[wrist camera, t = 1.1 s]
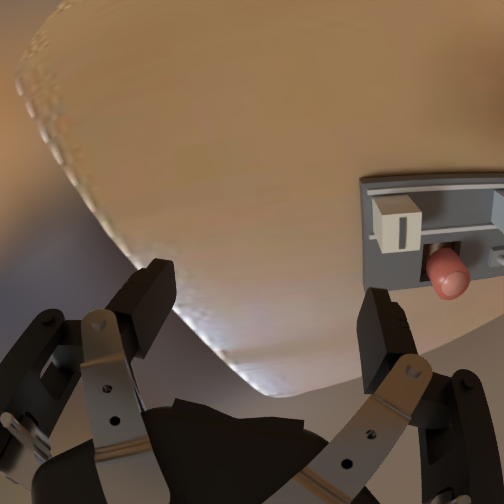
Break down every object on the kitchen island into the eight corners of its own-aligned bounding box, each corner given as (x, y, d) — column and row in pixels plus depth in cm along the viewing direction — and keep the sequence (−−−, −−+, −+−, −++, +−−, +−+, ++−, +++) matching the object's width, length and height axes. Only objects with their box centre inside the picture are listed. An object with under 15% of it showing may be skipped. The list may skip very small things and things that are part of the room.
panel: (514, 173, 26) (546, 192, 19) (500, 267, 32) (522, 296, 26) (359, 178, 31) (371, 200, 25) (363, 283, 37) (370, 320, 31)
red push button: (460, 246, 29) (474, 264, 26) (455, 278, 32) (466, 298, 28) (427, 249, 31) (439, 268, 27) (423, 282, 33) (433, 302, 29)
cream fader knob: (406, 194, 29) (422, 212, 24) (406, 228, 30) (420, 250, 26) (372, 196, 30) (382, 215, 25) (373, 231, 31) (382, 254, 27)
